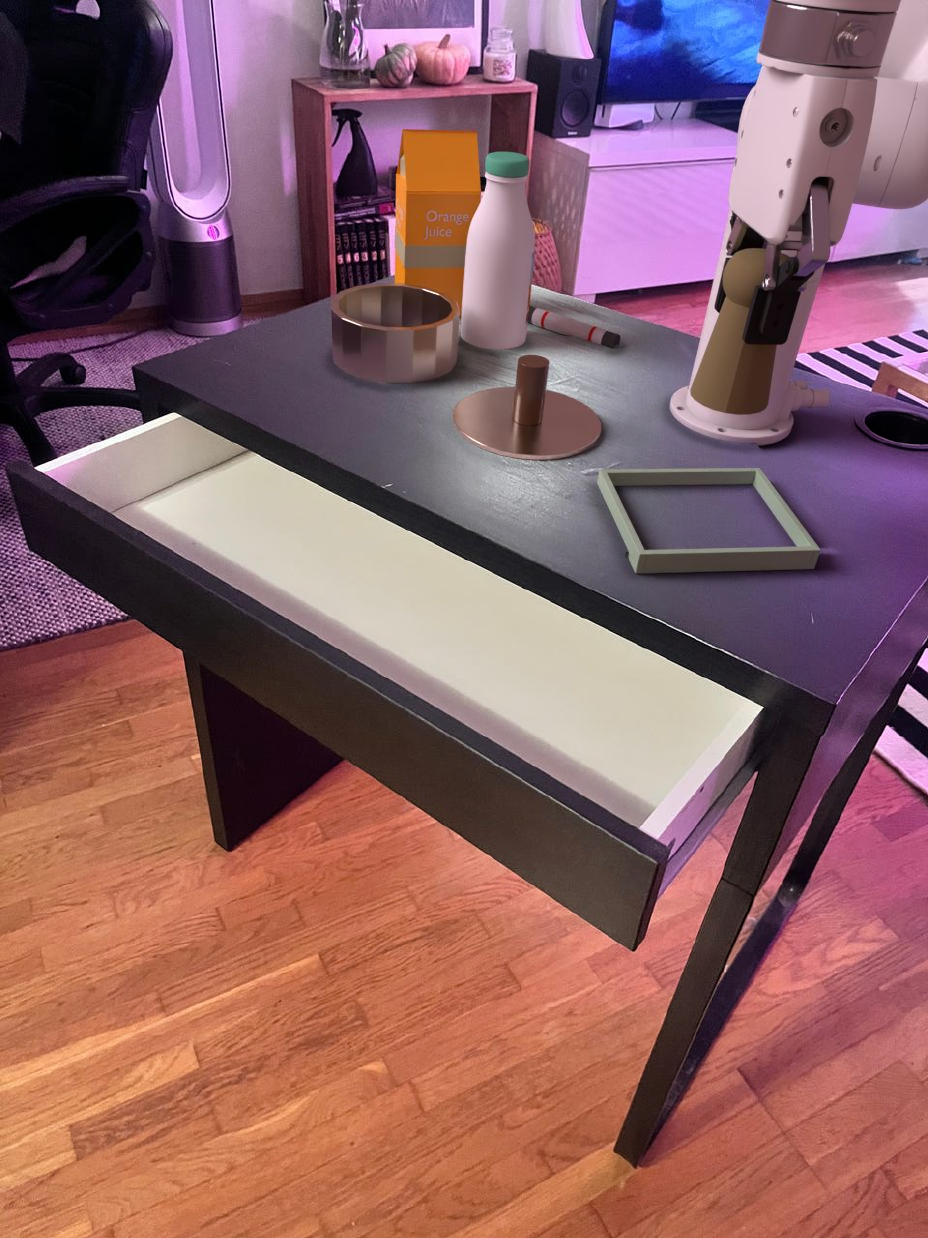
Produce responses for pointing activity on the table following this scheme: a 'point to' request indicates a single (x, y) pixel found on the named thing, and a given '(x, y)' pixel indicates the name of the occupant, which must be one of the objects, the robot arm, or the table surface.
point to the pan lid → (527, 417)
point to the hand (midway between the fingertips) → (748, 324)
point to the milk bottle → (499, 258)
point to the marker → (572, 327)
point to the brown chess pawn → (736, 345)
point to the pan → (394, 332)
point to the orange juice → (435, 208)
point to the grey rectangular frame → (713, 557)
